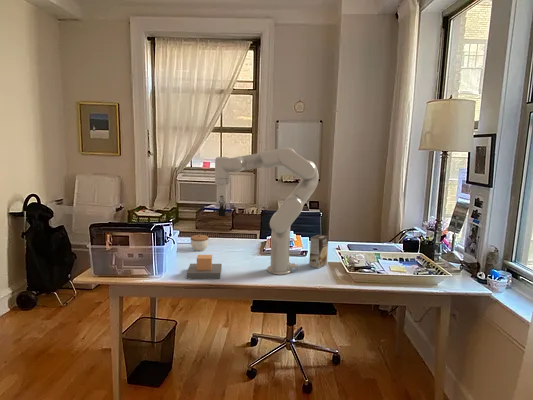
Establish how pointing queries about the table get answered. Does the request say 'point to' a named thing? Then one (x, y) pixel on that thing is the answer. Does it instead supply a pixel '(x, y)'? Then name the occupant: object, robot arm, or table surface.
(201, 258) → the plug
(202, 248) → the lidded jar
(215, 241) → the table surface
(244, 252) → the table surface
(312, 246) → the coffee box
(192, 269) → the socket
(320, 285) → the table surface
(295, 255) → the table surface
